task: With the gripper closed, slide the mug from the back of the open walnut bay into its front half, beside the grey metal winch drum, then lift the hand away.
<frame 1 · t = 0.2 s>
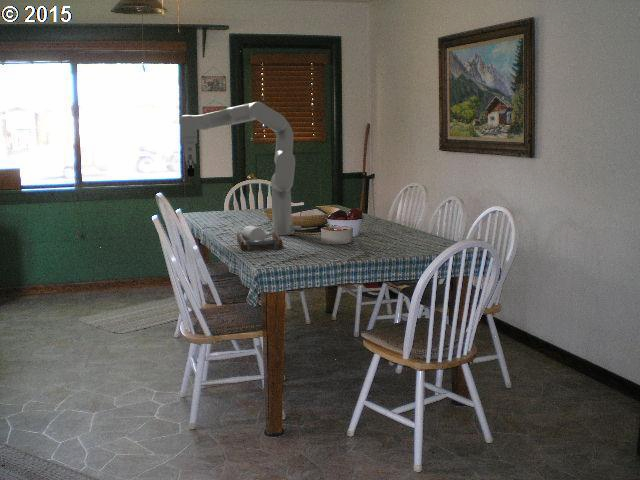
hand: (190, 175, 379), 31 cm above the table, tool pointing down, fingers open, 9 cm apart
bay: (258, 244, 360), on the table
mug: (257, 243, 366), on the table
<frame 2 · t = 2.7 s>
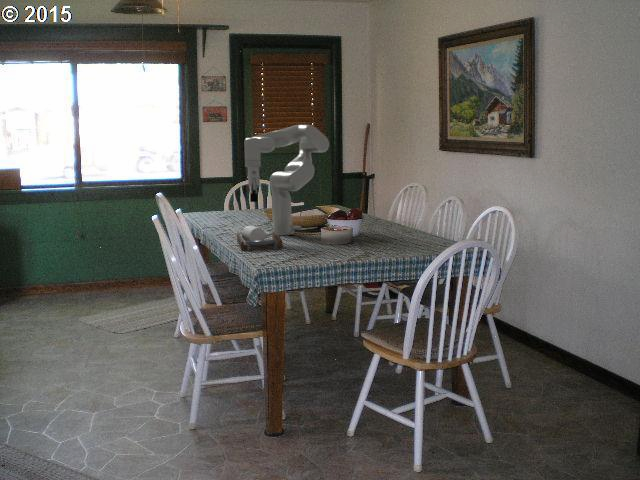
hand: (253, 201, 374), 18 cm above the table, tool pointing down, fingers closed
nothing on the table moved.
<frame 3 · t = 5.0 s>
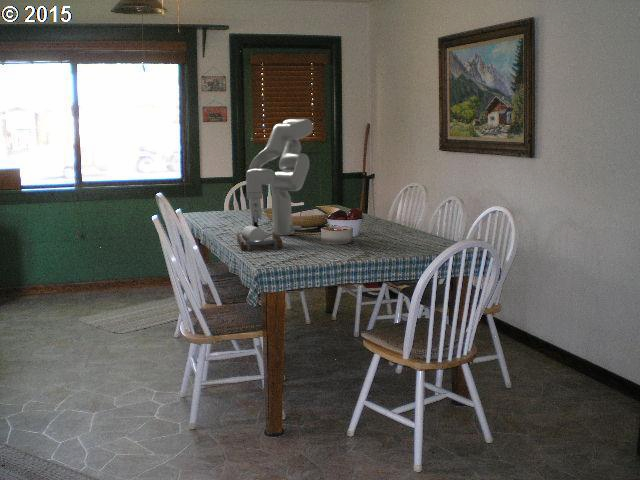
hand: (255, 233, 372), 3 cm above the table, tool pointing down, fingers closed
mug: (257, 243, 366), on the table, touching gripper
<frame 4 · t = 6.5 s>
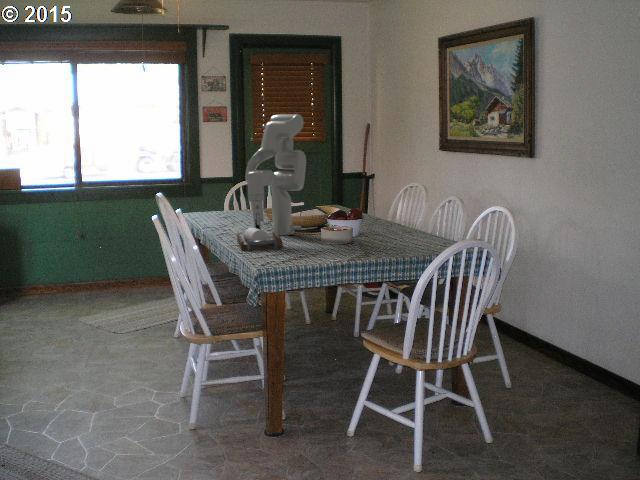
hand: (257, 236, 365), 3 cm above the table, tool pointing down, fingers closed
mug: (259, 245, 359), on the table, touching gripper
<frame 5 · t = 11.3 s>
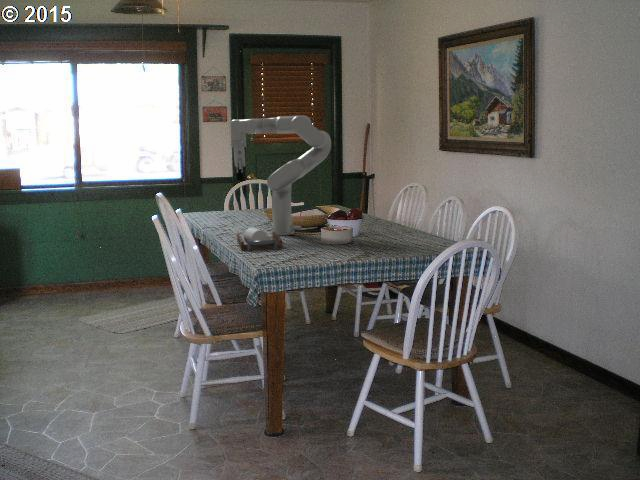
hand: (239, 180, 392), 27 cm above the table, tool pointing down, fingers closed
mug: (259, 245, 359), on the table
at the end: mug inside the target area (6.6 cm from its centre), on the table; mug tilted 0°; mug moved 7.5 cm from its start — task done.
